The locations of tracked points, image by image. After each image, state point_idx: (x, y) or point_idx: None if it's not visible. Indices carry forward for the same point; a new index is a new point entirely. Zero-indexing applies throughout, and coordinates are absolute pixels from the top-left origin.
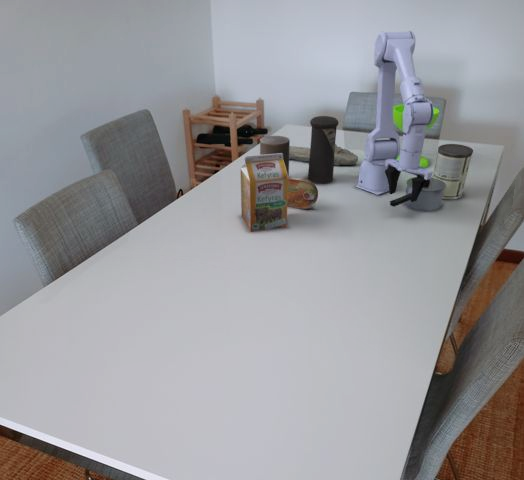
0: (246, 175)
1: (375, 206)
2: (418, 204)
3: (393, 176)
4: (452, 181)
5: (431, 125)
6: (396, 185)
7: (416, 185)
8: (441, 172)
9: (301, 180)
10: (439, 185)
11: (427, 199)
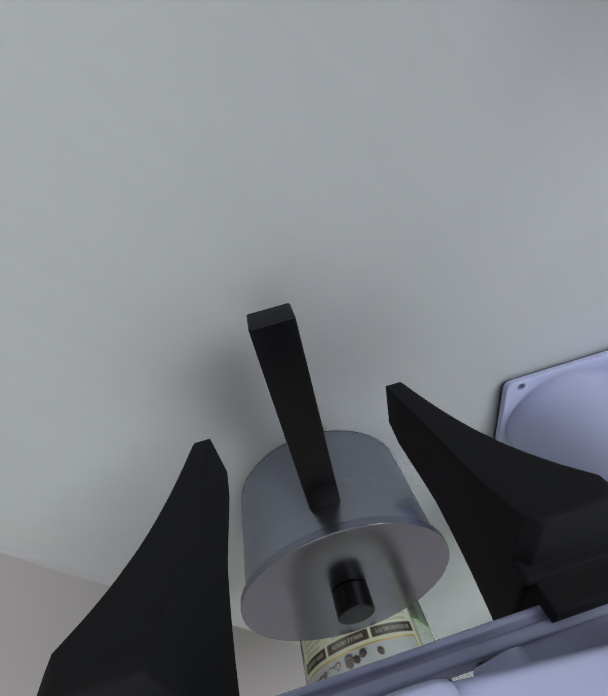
0: None
1: (429, 296)
2: (280, 472)
3: (474, 506)
4: (318, 652)
5: None
6: (414, 463)
7: (107, 604)
8: None
9: None
10: (293, 622)
11: (256, 523)
